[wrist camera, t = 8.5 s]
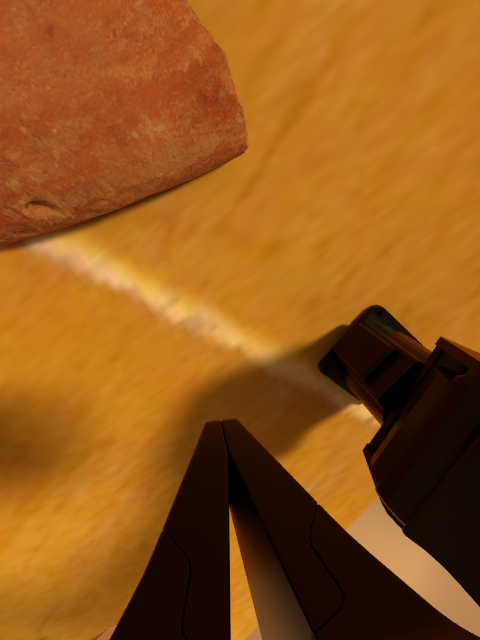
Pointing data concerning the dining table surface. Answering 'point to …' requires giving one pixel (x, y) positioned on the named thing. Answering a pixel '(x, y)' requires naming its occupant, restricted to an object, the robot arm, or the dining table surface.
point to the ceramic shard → (106, 108)
